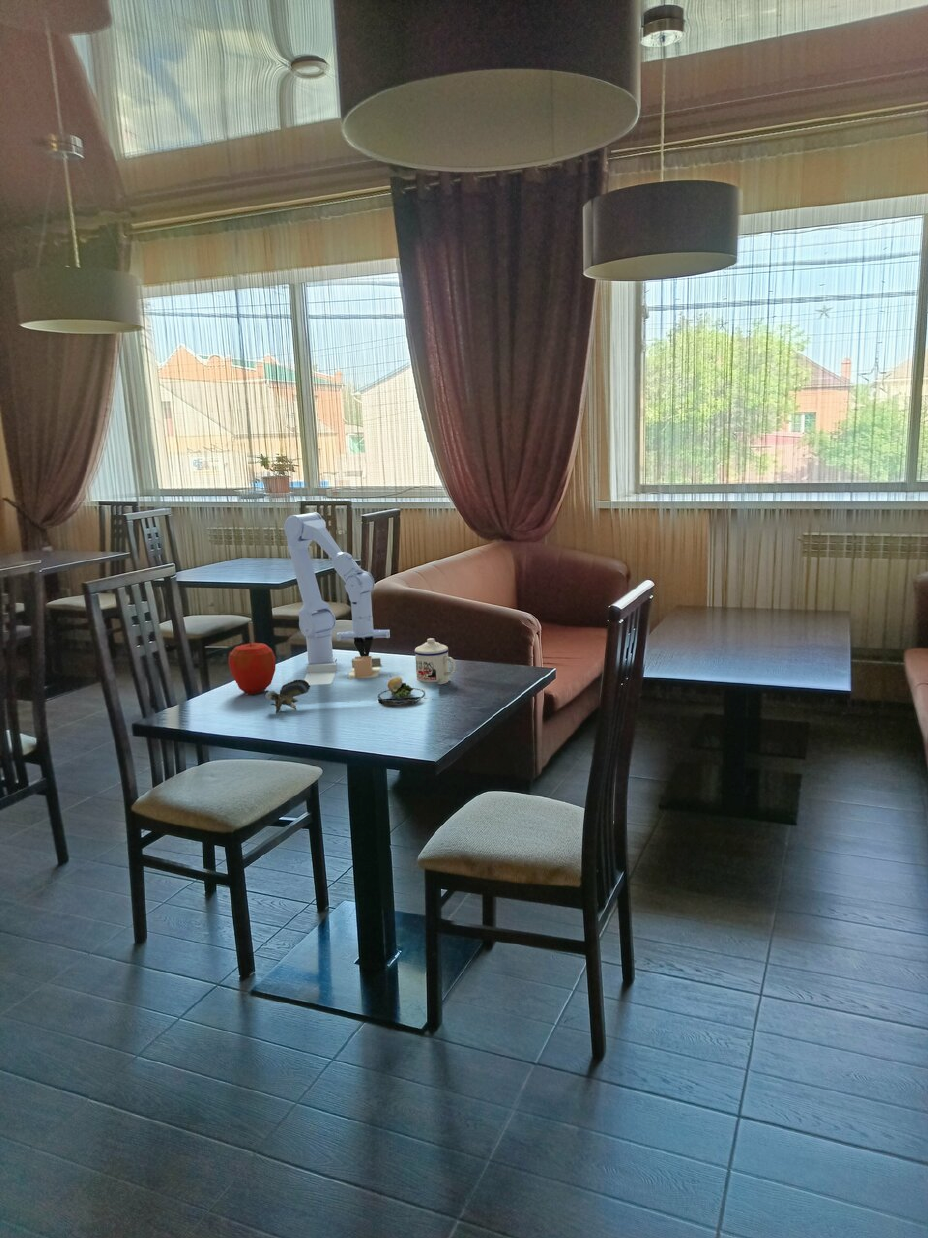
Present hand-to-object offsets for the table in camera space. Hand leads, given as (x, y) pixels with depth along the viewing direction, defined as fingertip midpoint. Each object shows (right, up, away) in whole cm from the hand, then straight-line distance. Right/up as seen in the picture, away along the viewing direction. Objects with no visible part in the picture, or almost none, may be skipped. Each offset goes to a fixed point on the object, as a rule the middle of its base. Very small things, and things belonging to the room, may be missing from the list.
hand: (365, 663), depth 244 cm
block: (0, -3, -7) cm, 8 cm away
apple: (-27, -7, -15) cm, 32 cm away
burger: (+12, -8, -28) cm, 32 cm away
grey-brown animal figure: (-15, -10, -31) cm, 36 cm away
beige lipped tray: (0, -3, -4) cm, 5 cm away
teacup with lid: (+21, -4, -14) cm, 25 cm away
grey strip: (-12, -4, -8) cm, 15 cm away
